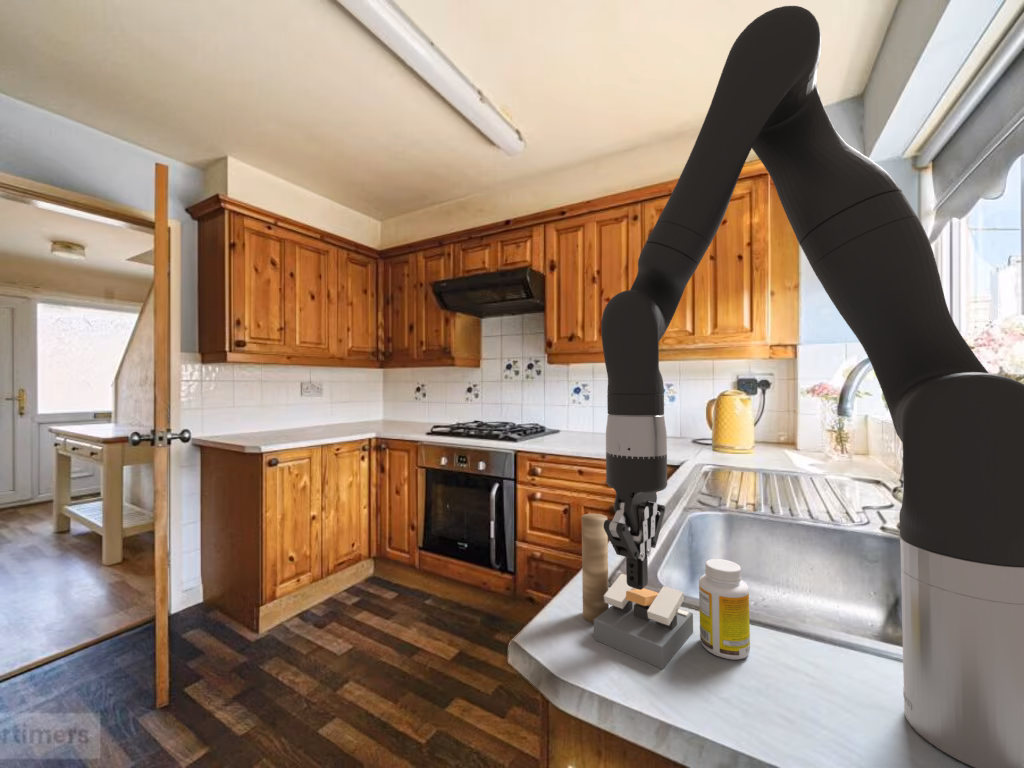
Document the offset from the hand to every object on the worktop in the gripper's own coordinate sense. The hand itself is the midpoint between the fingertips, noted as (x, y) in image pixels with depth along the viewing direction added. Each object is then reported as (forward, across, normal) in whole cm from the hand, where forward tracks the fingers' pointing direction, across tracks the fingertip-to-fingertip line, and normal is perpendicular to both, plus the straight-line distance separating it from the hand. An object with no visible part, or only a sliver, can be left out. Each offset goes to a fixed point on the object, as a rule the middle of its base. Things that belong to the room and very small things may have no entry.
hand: (637, 585), depth 54 cm
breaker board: (+7, +2, 0) cm, 7 cm away
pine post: (+7, +2, +7) cm, 10 cm away
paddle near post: (+2, +2, +3) cm, 4 cm away
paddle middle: (+2, +2, 0) cm, 3 cm away
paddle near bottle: (+2, +2, -3) cm, 4 cm away
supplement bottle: (+7, +6, -9) cm, 13 cm away
